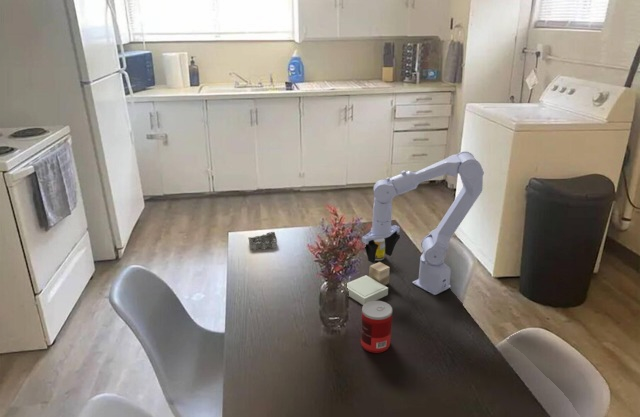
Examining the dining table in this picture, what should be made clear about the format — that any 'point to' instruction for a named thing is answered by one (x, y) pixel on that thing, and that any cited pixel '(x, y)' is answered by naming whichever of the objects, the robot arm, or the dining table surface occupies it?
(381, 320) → the canned food
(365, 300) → the plinth
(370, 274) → the beech block
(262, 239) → the egg carton
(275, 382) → the dining table surface
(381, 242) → the supplement bottle
